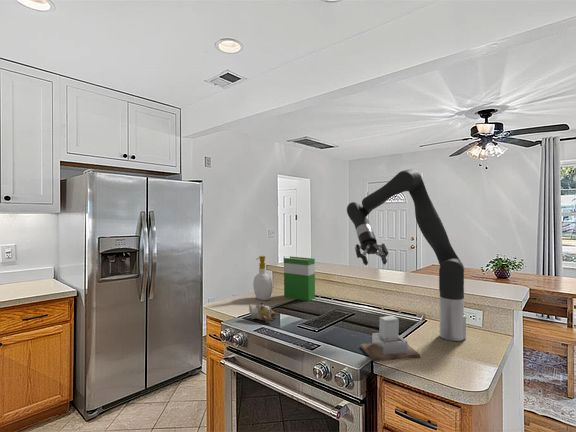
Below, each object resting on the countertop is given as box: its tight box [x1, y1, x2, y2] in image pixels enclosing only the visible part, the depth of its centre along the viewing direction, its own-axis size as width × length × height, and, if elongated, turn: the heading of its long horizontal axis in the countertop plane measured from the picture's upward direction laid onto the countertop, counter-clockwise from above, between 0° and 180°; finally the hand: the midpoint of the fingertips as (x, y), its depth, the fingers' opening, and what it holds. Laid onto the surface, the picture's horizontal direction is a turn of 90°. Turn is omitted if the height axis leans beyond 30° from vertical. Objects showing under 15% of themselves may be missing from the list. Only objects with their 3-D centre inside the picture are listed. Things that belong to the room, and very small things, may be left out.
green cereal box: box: [283, 255, 316, 302], centre depth 212 cm, size 18×7×24 cm, turn 55°
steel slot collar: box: [371, 332, 408, 356], centre depth 133 cm, size 9×10×4 cm
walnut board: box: [360, 342, 421, 362], centre depth 133 cm, size 18×13×1 cm
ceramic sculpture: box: [248, 302, 281, 323], centre depth 173 cm, size 11×9×15 cm
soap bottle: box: [253, 255, 273, 301], centre depth 209 cm, size 14×9×26 cm, turn 47°
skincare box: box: [378, 315, 400, 342], centre depth 133 cm, size 6×4×12 cm
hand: (376, 263), depth 154 cm, fingers open, 8 cm apart
